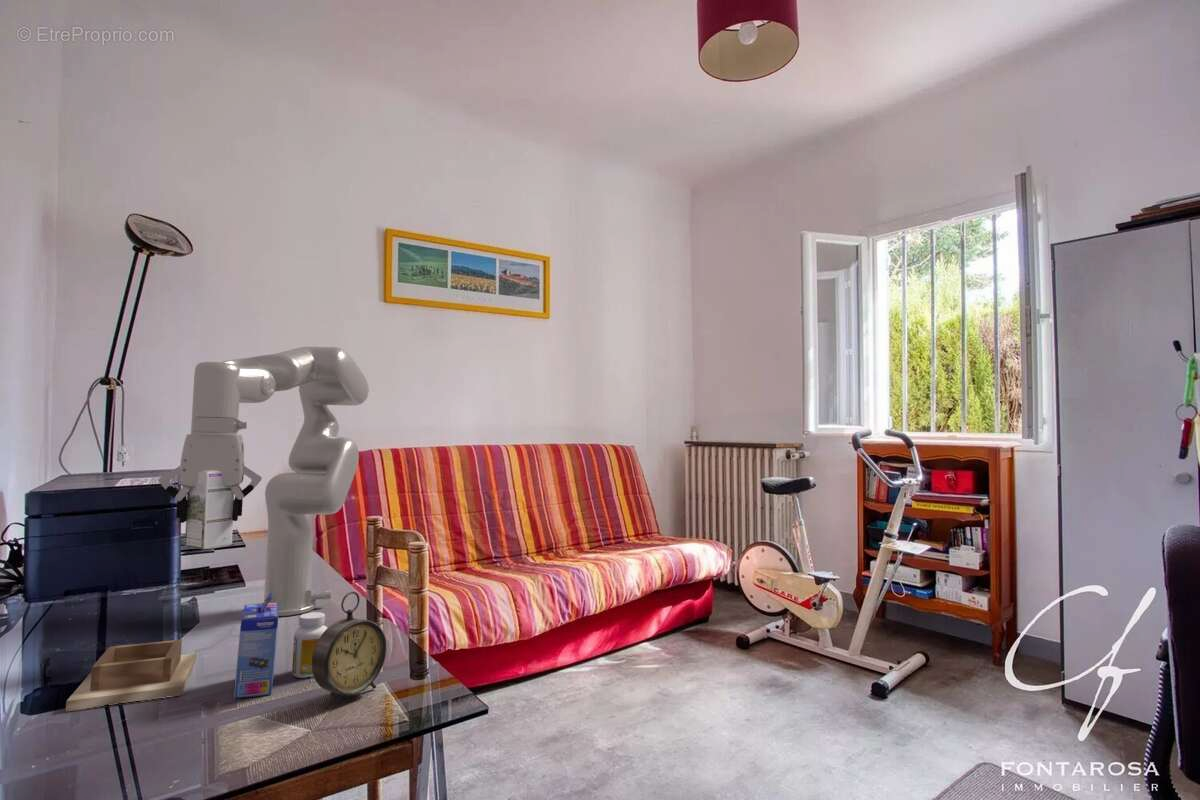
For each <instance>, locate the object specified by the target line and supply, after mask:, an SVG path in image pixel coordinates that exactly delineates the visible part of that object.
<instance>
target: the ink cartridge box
mask: <svg viewBox="0 0 1200 800" xmlns="http://www.w3.org/2000/svg"><path fill="white" fill-rule="evenodd" d="M271 599H272V592H271V593H270V594H269V596H268V597H267V598H266V600H265V602H264V601H263V602H264V603H263V602H261V603H250V604H244V606H243V610H242V615H241V620H240V627H239V628H240V629H239V636H238V637H239V639H238V647H237V648H238V649H237V658H236V660H237V661H236V671H235V682H234V692H233V699H235V698H236V699H244V698H243V697H245V698H252V697H254V698H255V697H263V696H270V695H272V691H273V681H274V674H275V665H276V653H277V641H278V629H279V616H278V603H269V602H270V600H271Z"/></svg>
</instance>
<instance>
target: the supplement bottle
mask: <svg viewBox="0 0 1200 800" xmlns="http://www.w3.org/2000/svg"><path fill="white" fill-rule="evenodd" d="M325 619H326V614H325V613H323V612H319V611H317V612H315V611H314V612H312V611H311V612H305V613H301V615H300V616H299V620H298V625H299V627H298V628H297V629H296V630H295V631H294V635H293V645H292V646H293V649H292V666H291V670H292V671H291V673H292V676H293V677H295V678H300V679H308V678H307V677H310V678H314V676H313V672H312V656H313V652H314V649H315V646H316V644H317V642H318V640H319V638H320V637H321V635H322V634H323V633H324V631H325V630H326V629H327V628H328V626H326V625H324V624H325V621H326V620H325Z"/></svg>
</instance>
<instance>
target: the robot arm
mask: <svg viewBox="0 0 1200 800" xmlns="http://www.w3.org/2000/svg"><path fill="white" fill-rule="evenodd" d="M296 387H298V392H299V399H300V402H301V406H302V411H303V417H304V419H303V423H302V427H300V431H299V433H298V435H297V437H296V439H295V442H294V444H293V446H292V448H291V450H290V453H289V456H288V466H289V468H290V469H291V470H292V471H293V472H284V473H279V474H277V475H274V476H273V477H272V478H270V480H268V482H267V483H266V487H265V490H264V491H265V493H264V496H265V505H266V506H265V507H266V511H267V543H266V557H265V558H266V559H265V576H264V577H265V578H264V592H263V602H262V603H264V602H265V600H266V598H267V597H268V596H269V594H270V593H271V592H272V599H271V600H270V602H269V603H278V617H287V616H295V615H300V614H301V615H302V614H306V613H309V612H312V610H314V609H316V607H317V600H331V597H332V595H331V594H332V591H331V590H330V589H329V590H325V589H319V590H315V589H312V585H311V577H312V576H311V574H312V573H311V572H312V558H313V556H312V555H313V541H314V539H313V538H314V533H313V532H314V531H313V527H312V525H311V523H310V520H309V519H308V518H307V516H306V515H333V514H336V513H338V512H339V511H340V510H341V509H342V508H343V506H344V504H345V502H346V499H347V496H348V495H349V494H348V493H349V491H350V488H351V486H352V483H353V480H354V478H355V474H356V472H357V468H358V465H359V461H360V460H359V459H360V455H359V454H360V453H359V451H360V450H359V447H358V445H357V443H356V442H355V441H354V440H352V439H351V438H348V437H344V436H343V437H341V436H339V437H338V433H339V431H340V425H339V421H338V419H337V418H336V416H334V414H333V413H332V411H331V410H330V409H329V406H359V405H361V404H363V403H365V401H366V400H367V399H368V396H369V389H370V388H369V383H368V380H367V378H366V376H365V375H364V373H363V371H362V370H361V368H360V367H359V366H358V364H357V363H356V362H355V360H354V359H353V357H352V356H351V355H350V354H349V353H348V352H347V351H345V350H344V349H342V348H340V347H335V346H331V347H330V346H303V347H302V346H301V347H296V348H293V349H292V348H291V349H289V350H286V351H281V352H277V353H272V354H271V353H270V354H263V355H262V354H261V355H257V356H251V357H244V358H242V357H241V358H236V359H229V360H223V361H202V362H199V363H198V364H197V365H195V368H194V375H193V391H192V406H191V407H192V409H191V410H192V411H191V424H190V425H191V427H190V433H187V434H186V436H185V439H184V442H183V447H182V452H181V458H180V465H179V466H178V467H175V468H174V469H173V470H171V471H169V472H167V473H165V474H163V475H162V476H161V477H159V478H158V482H159V484H160V485H161V487H163V489H164V490H166V492H167V493H168V494H169V495H170V496H171V497H172V498H174V499H175V501H176V513H175V514H176V516H175V517H176V519H179V523H180V524H184V523H186V512H187V493H188V491H189V490H190V489H191V488H195V487H196V486H197V481H198V473H199V472H201V471H205V470H217V469H220V471H221V475H222V482H223V486H225V487H230V488H231V490H232V491H233V493H234V500H233V516H232V520H233V522H237V521H238V519H239V517H242V515H243V503H244V502H243V500H244V499H245V497H246V496H248V495H249V494H250V493H252V492H253V490H254V489H255V488H256V487H257V486H258V485H259V484H260V482H261V481H262V480H263V478H262V476H260V475H259V474H257V473H256V471H255V472H254V471H253V470H252V469H250V468H249V467H247V466H245V447H244V439H243V435H242V434H238V433H239V431H240V430H241V431H242V430H246V429H247V422H245V421H241V420H239V409H240V408H239V407H240V404H259V403H264V402H265V401H268V400H269V399H270V398H271V397H272V396H273V395H274V393H275V392H276V393H277V392H282V391H283V392H284V391H288V390H291V389H293V388H296ZM244 475H245V476H246V477H248V478H249V479H251V480H250V482H249V484H247V485H246V486H245V487H244V488H243V489H242V487H241V486H240V484H242V483H243V481H244V478H245V477H244ZM177 476H178V482H179V485H180V486H181V488H180V490H179V489H178V488H177V487H176V486H175V485H174V484H173V483H172V482H171V481H172V480H173V479H175V478H176V477H177Z"/></svg>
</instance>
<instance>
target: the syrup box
mask: <svg viewBox="0 0 1200 800" xmlns="http://www.w3.org/2000/svg"><path fill="white" fill-rule="evenodd" d="M186 499H187V512H186V521H185V539H184V540H185V541H184V546H185V547H187V548H193V549H194V548H195V549H199V550H210V549H217V548H223V547H228V546H232V545H233V530H234V529H233V525H234V524H233V523H234V521H233V520H232V516H233V500H234V499H235V494H234V493H233V491H232V490H231V488H230V487H225V486H223V482H222V475H221V471H220V469H217V470H205V471H201V472H199V473H198V481H197V486H196V487H195V488H191V489H190V490H189V491H188V493H187V495H186Z"/></svg>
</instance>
